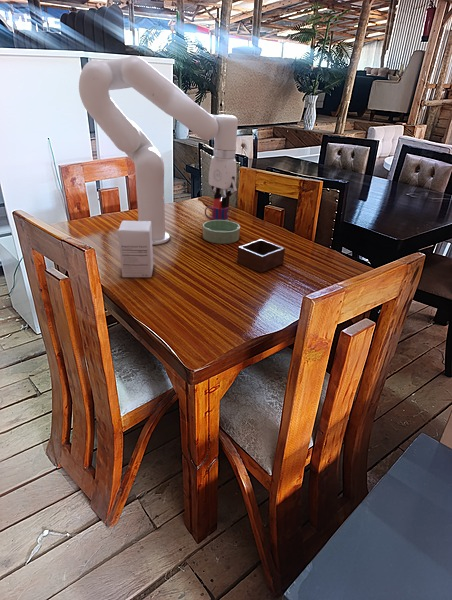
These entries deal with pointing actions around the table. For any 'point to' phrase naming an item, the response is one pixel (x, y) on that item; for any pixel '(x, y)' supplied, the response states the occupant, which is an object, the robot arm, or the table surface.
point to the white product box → (136, 248)
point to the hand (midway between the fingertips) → (221, 205)
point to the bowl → (221, 231)
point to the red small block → (218, 203)
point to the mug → (218, 213)
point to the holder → (260, 255)
